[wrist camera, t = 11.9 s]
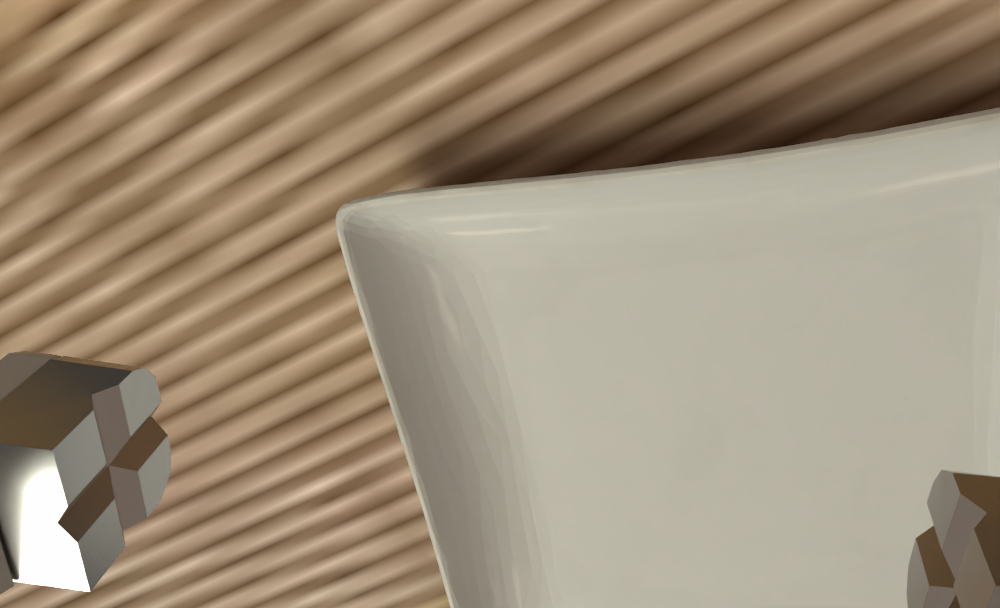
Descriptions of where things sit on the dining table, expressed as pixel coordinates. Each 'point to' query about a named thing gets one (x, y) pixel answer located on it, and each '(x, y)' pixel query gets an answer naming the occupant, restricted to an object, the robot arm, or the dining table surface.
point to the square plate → (692, 367)
